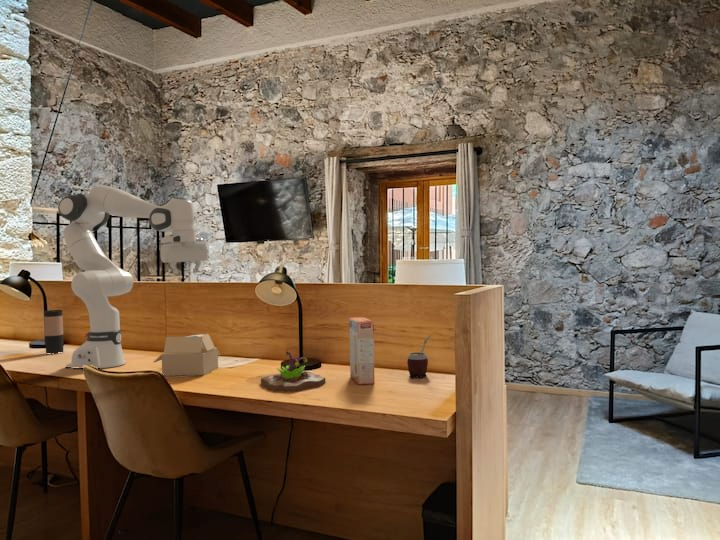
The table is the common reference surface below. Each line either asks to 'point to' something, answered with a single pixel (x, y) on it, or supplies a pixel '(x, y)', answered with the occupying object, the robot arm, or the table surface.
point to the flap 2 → (207, 342)
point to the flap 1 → (183, 345)
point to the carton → (189, 362)
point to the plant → (292, 378)
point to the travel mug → (53, 331)
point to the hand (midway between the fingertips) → (186, 273)
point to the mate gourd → (418, 363)
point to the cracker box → (362, 350)
